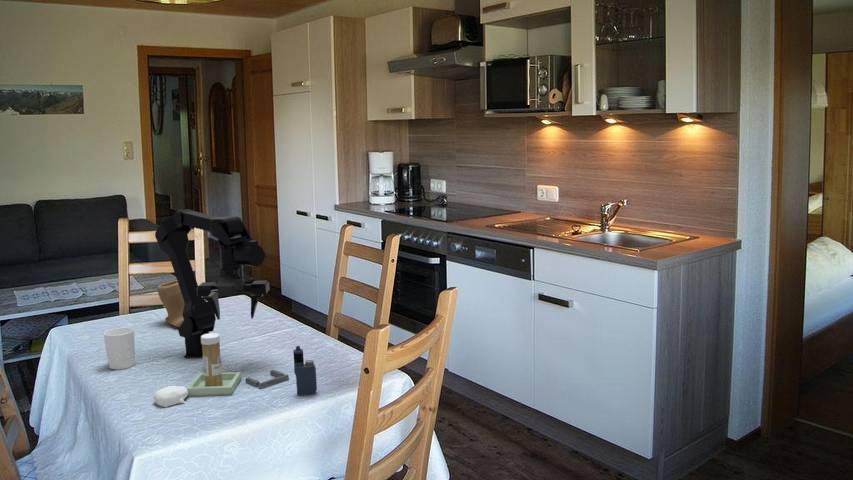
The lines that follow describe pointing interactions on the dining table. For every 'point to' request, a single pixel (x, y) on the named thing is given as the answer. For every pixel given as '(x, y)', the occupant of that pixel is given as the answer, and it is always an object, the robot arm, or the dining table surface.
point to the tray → (227, 388)
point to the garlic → (170, 395)
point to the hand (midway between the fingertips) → (235, 318)
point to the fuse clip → (279, 375)
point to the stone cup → (172, 302)
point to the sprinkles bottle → (212, 359)
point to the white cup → (120, 347)
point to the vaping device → (304, 373)
